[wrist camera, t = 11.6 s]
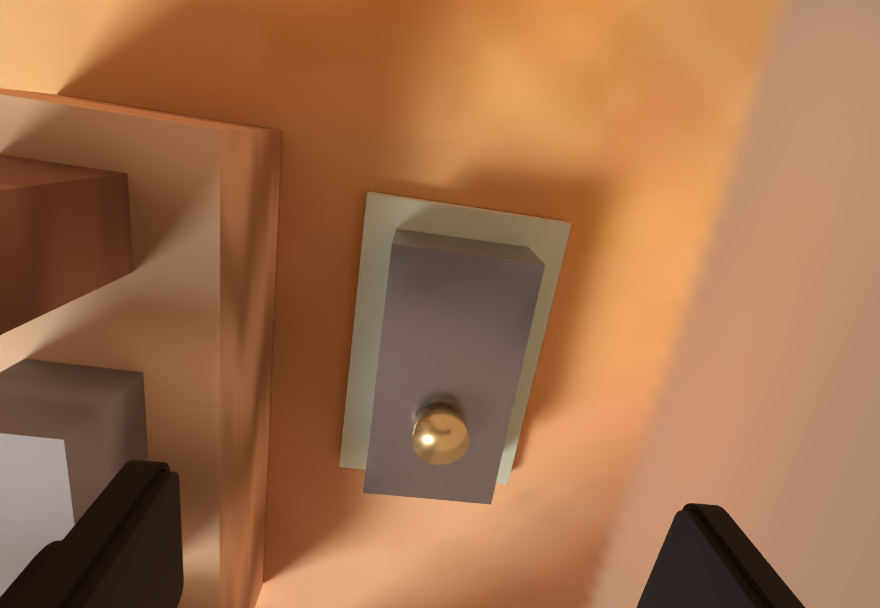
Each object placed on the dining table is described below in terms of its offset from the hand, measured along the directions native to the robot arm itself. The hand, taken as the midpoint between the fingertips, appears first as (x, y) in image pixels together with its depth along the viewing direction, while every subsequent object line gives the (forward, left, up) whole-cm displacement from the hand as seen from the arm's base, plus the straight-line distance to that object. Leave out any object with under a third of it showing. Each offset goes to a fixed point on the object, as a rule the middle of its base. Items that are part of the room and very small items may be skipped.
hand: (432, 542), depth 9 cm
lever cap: (0, +1, -9) cm, 9 cm away
